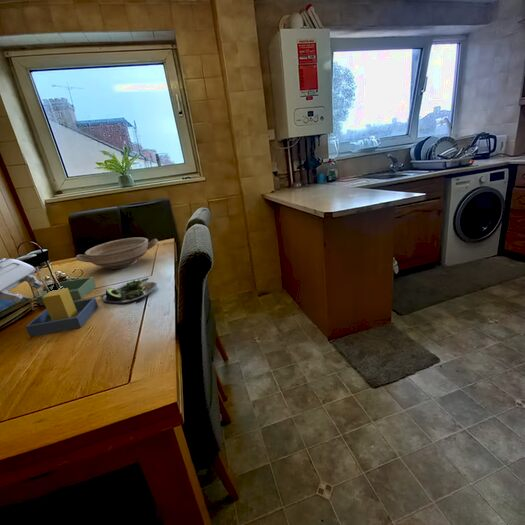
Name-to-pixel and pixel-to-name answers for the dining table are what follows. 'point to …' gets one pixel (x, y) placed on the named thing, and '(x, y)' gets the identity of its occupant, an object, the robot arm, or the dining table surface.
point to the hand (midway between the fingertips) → (31, 292)
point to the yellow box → (60, 304)
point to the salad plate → (129, 292)
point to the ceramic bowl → (117, 252)
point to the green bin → (74, 288)
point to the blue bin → (47, 326)
